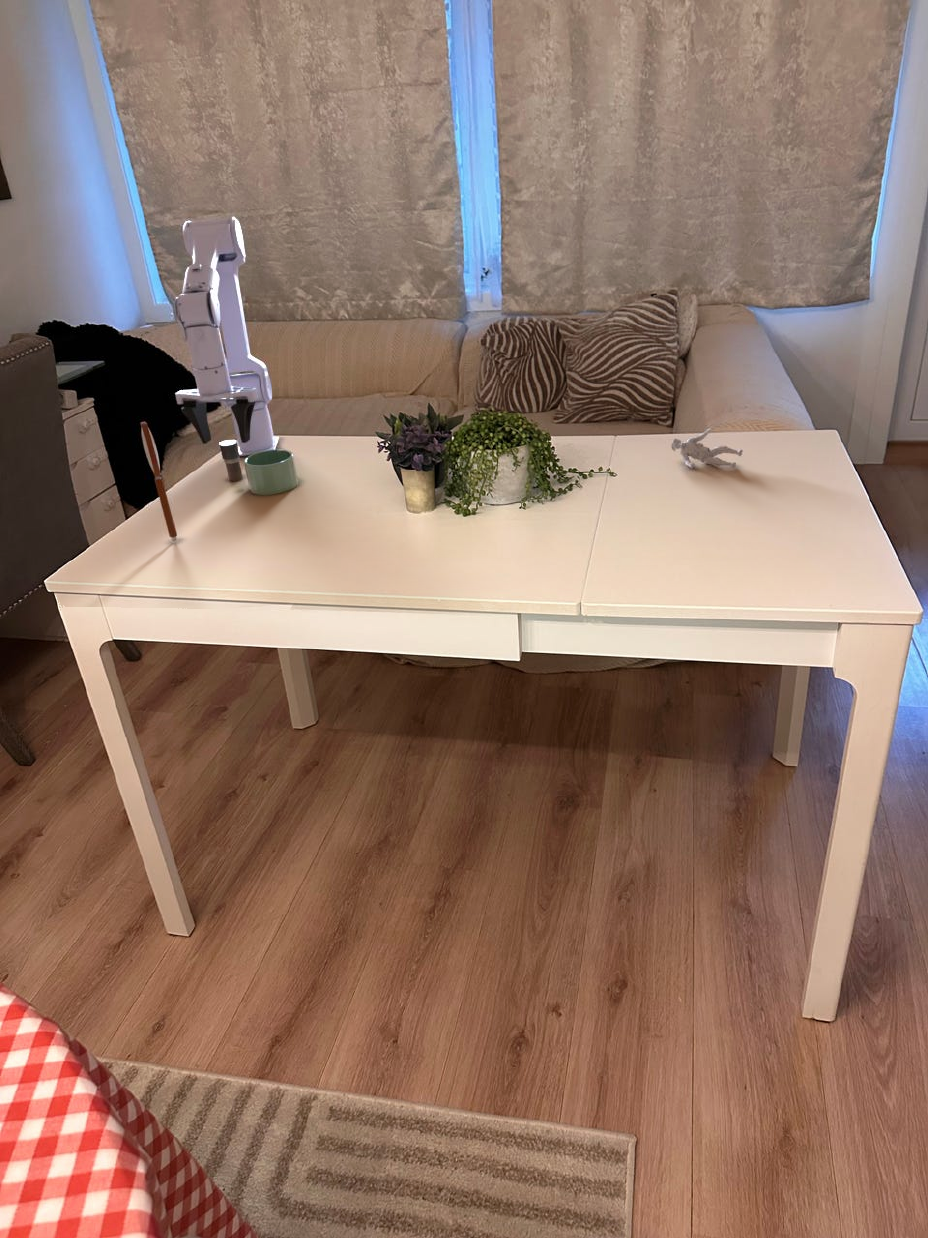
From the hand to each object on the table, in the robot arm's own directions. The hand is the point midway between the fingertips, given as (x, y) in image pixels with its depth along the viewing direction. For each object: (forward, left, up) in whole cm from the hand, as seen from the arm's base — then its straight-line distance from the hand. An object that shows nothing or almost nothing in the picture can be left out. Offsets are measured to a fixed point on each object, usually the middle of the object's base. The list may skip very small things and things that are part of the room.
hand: (226, 441), depth 164 cm
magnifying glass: (+21, -7, -10) cm, 24 cm away
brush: (-7, -1, -9) cm, 12 cm away
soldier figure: (+12, +84, -10) cm, 85 cm away
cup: (0, +7, -9) cm, 12 cm away
